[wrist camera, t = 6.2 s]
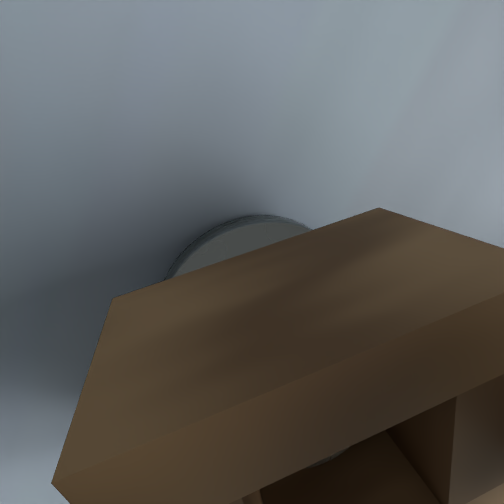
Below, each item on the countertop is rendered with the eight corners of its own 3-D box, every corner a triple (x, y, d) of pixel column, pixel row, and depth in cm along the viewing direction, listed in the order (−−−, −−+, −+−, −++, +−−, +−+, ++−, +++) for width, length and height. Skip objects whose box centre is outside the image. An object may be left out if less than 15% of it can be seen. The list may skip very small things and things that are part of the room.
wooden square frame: (378, 207, 8) (562, 267, 4) (390, 389, 11) (504, 517, 7) (112, 298, 7) (50, 483, 3) (204, 472, 10) (228, 673, 6)
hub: (370, 244, 11) (507, 316, 7) (301, 389, 13) (372, 521, 9) (190, 187, 9) (217, 240, 4) (135, 376, 10) (113, 554, 6)
